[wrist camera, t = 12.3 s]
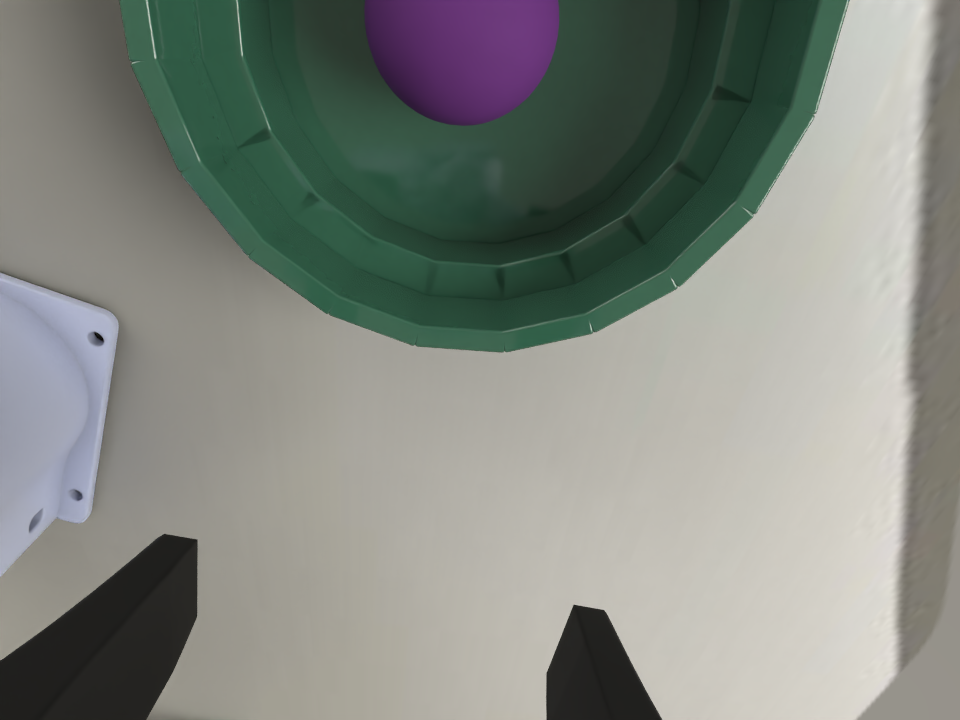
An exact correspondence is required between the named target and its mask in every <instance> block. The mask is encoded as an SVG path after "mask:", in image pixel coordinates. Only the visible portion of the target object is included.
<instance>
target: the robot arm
mask: <svg viewBox="0 0 960 720" xmlns="http://www.w3.org/2000/svg"><path fill="white" fill-rule="evenodd" d="M118 330H119V324H118V320H117V318H116V317H115V316H114V315H113V314H112V313H111V312H110V311H108V310H106V309H103V308H100V307H98V306H95V305H92V304H89V303H86V302H83V301H80V300H77V299H75V298H72V297H69V296H66V295H63V294H60V293H57V292H54V291H52V290H49V289H46V288H43V287H40V286H37V285H34V284H31V283H29V282H26V281H23V280H20V279H17V278H14V277H11V276H9V275H6V274H3V273H0V577H1V576H2V575H3V574H4V573H5V572H6V571H7V569H8V568H9V567H10V566H11V565H12V564H13V563H14V562H15V561H16V560H17V559H18V558H19V557H20V556H21V555H22V554H23V553H24V551H25V550H26V549H27V548H28V547H29V546H30V545H31V544H32V543H33V542H34V541H35V540H36V539H37V538H38V537H39V536H40V535H41V533H42V532H43V531H44V530H45V529H46V528H47V527H48V526H49V525H50V524H51V523H52V522H53V521H54V520H55V519H56V518H58V519H61V520H65V521H68V522H72V523H82V522H84V521H85V520H86V519H87V518H88V517H89V516H90V514H91V512H92V505H93V498H94V491H95V485H96V478H97V471H98V464H99V458H100V451H101V444H102V437H103V431H104V424H105V417H106V410H107V404H108V397H109V390H110V383H111V377H112V370H113V363H114V357H115V350H116V343H117V336H118ZM95 332H97V333H99V334H100V335H101V336H102V337H103V339H104V341H101V340H99V339H98V338H97V337H96V336H95ZM76 490H77V491H79V492H80V493H79V492H77V491H76ZM196 618H197V540H196V539H190V538H185V537H179V536H173V535H167V534H163V535H162V536H160V537H158V538H157V539H156V540H155V541H153V542H152V543H151V544H150V545H149V546H148V547H146V548H145V549H144V550H143V551H142V552H140V553H139V554H138V555H137V556H136V557H134V558H133V559H132V560H131V561H130V562H129V563H127V564H126V565H125V566H124V567H123V568H121V569H120V570H119V571H118V572H116V573H115V574H114V575H113V576H112V577H110V578H109V579H108V580H107V581H105V582H104V583H103V584H102V585H100V586H99V587H98V588H97V589H96V590H94V591H93V592H92V593H91V594H89V595H88V596H87V597H85V598H84V599H83V600H82V601H80V602H79V603H78V604H76V605H75V606H74V607H73V608H71V609H70V610H69V611H67V612H66V613H65V614H64V615H62V616H61V617H60V618H58V619H57V620H56V621H55V622H53V623H52V624H51V625H49V626H48V627H47V628H45V629H44V630H43V631H41V632H40V633H38V634H37V635H36V636H34V637H33V638H32V639H30V640H29V641H27V642H26V643H25V644H23V645H22V646H20V647H19V648H18V649H16V650H15V651H13V652H12V653H11V654H9V655H8V656H6V657H5V658H4V659H2V660H1V661H0V720H146V719H147V717H148V715H149V713H150V712H151V710H152V708H153V706H154V705H155V703H156V701H157V699H158V698H159V696H160V694H161V692H162V690H163V689H164V687H165V685H166V683H167V682H168V680H169V678H170V676H171V674H172V673H173V670H174V668H175V666H176V664H177V662H178V659H179V657H180V655H181V653H182V650H183V648H184V646H185V644H186V641H187V639H188V637H189V634H190V632H191V629H192V627H193V625H194V622H195V620H196ZM546 709H547V720H662V718H661V717H660V715H659V713H658V711H657V710H656V708H655V706H654V704H653V702H652V701H651V699H650V697H649V695H648V693H647V692H646V690H645V688H644V686H643V684H642V682H641V680H640V678H639V677H638V675H637V673H636V671H635V669H634V667H633V665H632V663H631V661H630V659H629V657H628V655H627V653H626V651H625V649H624V647H623V645H622V643H621V641H620V639H619V637H618V635H617V633H616V631H615V629H614V627H613V625H612V623H611V621H610V619H609V617H608V615H607V614H606V612H605V611H604V610H600V609H595V608H589V607H583V606H577V605H573V608H572V611H571V613H570V616H569V618H568V621H567V623H566V626H565V628H564V631H563V633H562V636H561V638H560V641H559V643H558V646H557V649H556V651H555V654H554V656H553V659H552V661H551V664H550V666H549V669H548V671H547V690H546Z"/></svg>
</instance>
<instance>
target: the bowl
mask: <svg viewBox="0 0 960 720" xmlns="http://www.w3.org/2000/svg"><path fill="white" fill-rule="evenodd" d="M849 1H850V0H558V3H559V29H558V37H557V42H556V47H555V51H554V54H553V56H552V59H551V62H550V64H549V67H548V69H547V71H546V73H545V75H544V76H543V78H542V80H541V81H540V83H539V84H538V86H537V87H536V88H535V90H534V91H533V92H532V93H531V94H530V96H529V97H528V98H527V99H526V100H524V101H523V102H522V103H521V104H520V105H519V106H518V107H516V108H515V109H513V110H512V111H511V112H509V113H507V114H505V115H503V116H502V117H500V118H498V119H495V120H492V121H490V122H487V123H482V124H478V125H468V126H460V125H449V124H445V123H440V122H437V121H434V120H431V119H429V118H426V117H424V116H423V115H421V114H419V113H417V112H415V111H414V110H413V109H411V108H410V107H409V106H407V105H406V104H405V103H404V102H403V101H401V100H400V99H399V98H398V97H397V96H396V95H395V94H394V92H393V91H392V90H391V89H390V88H389V86H388V85H387V84H386V82H385V81H384V79H383V77H382V76H381V74H380V72H379V70H378V68H377V66H376V64H375V62H374V59H373V56H372V54H371V51H370V48H369V44H368V40H367V35H366V28H365V14H364V6H365V0H119V3H120V9H121V15H122V21H123V27H124V33H125V39H126V45H127V51H128V57H129V60H130V61H131V62H132V63H131V67H132V69H133V71H134V73H135V76H136V78H137V80H138V82H139V85H140V87H141V89H142V91H143V93H144V96H145V98H146V100H147V102H148V104H149V107H150V109H151V111H152V113H153V115H154V118H155V120H156V122H157V124H158V127H159V129H160V131H161V133H162V135H163V138H164V140H165V142H166V144H167V146H168V149H169V151H170V153H171V155H172V157H173V160H174V162H175V164H176V166H177V169H178V170H179V171H181V175H182V176H183V178H184V179H185V180H186V181H187V183H188V184H189V185H190V186H191V187H192V189H193V190H194V191H195V192H196V194H197V195H198V196H199V197H200V199H201V200H202V201H203V202H204V203H205V205H206V206H207V207H208V208H209V210H210V211H211V212H212V213H213V215H214V216H215V217H216V218H217V219H218V221H219V222H220V223H221V224H222V226H223V227H224V228H225V229H226V231H227V232H228V233H229V234H230V235H231V237H232V238H233V239H234V240H235V242H236V243H237V244H238V245H239V247H240V248H241V249H242V250H243V251H244V253H245V254H246V255H249V258H250V259H251V260H252V261H254V262H255V263H257V264H258V265H259V266H261V267H262V268H264V269H265V270H266V271H268V272H269V273H270V274H272V275H273V276H275V277H276V278H277V279H279V280H280V281H282V282H283V283H284V284H286V285H287V286H289V287H290V288H291V289H293V290H294V291H295V292H297V293H298V294H300V295H301V296H302V297H304V298H305V299H307V300H308V301H309V302H311V303H312V304H313V305H315V306H316V307H318V308H319V309H320V310H322V311H323V312H325V313H326V314H328V313H329V315H330V316H333V317H336V318H339V319H341V320H344V321H347V322H350V323H352V324H355V325H358V326H360V327H363V328H366V329H369V330H371V331H374V332H377V333H380V334H382V335H385V336H388V337H390V338H393V339H396V340H399V341H401V342H404V343H407V344H410V345H412V346H414V345H416V346H417V347H431V348H445V349H459V350H474V351H488V352H504V351H505V352H510V351H515V350H520V349H524V348H529V347H533V346H538V345H543V344H547V343H552V342H557V341H561V340H566V339H571V338H575V337H580V336H584V335H589V334H592V333H593V332H597V331H599V330H601V329H603V328H605V327H607V326H609V325H610V324H612V323H614V322H616V321H618V320H620V319H622V318H624V317H625V316H627V315H629V314H631V313H633V312H635V311H637V310H638V309H640V308H642V307H644V306H646V305H648V304H650V303H652V302H653V301H655V300H657V299H659V298H661V297H663V296H665V295H666V294H668V293H670V292H672V291H674V290H676V289H677V288H678V286H679V287H680V286H681V285H682V284H683V283H684V282H686V281H687V280H688V279H689V278H690V277H691V276H692V275H693V274H694V273H695V272H696V271H697V270H698V269H699V268H700V267H701V266H702V265H703V264H704V263H705V262H706V261H708V260H709V259H710V258H711V257H712V256H713V255H714V254H715V253H716V252H717V251H718V250H719V249H720V248H721V247H722V246H723V245H724V244H725V243H726V242H727V241H729V240H730V239H731V238H732V237H733V236H734V235H735V234H736V233H737V232H738V231H739V230H740V229H741V228H742V227H743V226H744V225H745V224H746V223H747V222H748V221H749V220H751V219H752V218H753V216H754V215H753V214H756V213H757V211H758V210H759V208H760V206H761V205H762V203H763V201H764V200H765V198H766V196H767V195H768V193H769V192H770V190H771V188H772V187H773V185H774V183H775V182H776V180H777V178H778V177H779V175H780V173H781V172H782V170H783V168H784V167H785V165H786V164H787V162H788V160H789V159H790V157H791V155H792V154H793V152H794V150H795V149H796V147H797V145H798V144H799V142H800V141H801V139H802V137H803V136H804V134H805V132H806V131H807V129H808V127H809V126H810V124H811V122H812V121H813V119H814V117H815V116H814V114H816V112H817V110H818V106H819V103H820V99H821V96H822V93H823V89H824V86H825V82H826V79H827V76H828V72H829V69H830V65H831V62H832V58H833V55H834V52H835V48H836V45H837V41H838V38H839V35H840V31H841V28H842V24H843V21H844V18H845V14H846V11H847V7H848V4H849Z"/></svg>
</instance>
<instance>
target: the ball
mask: <svg viewBox="0 0 960 720" xmlns="http://www.w3.org/2000/svg"><path fill="white" fill-rule="evenodd" d="M364 14H365V28H366V35H367V40H368V44H369V48H370V51H371V54H372V56H373V59H374V62H375V64H376V66H377V68H378V70H379V72H380V74H381V76H382V77H383V79H384V81H385V82H386V84H387V85H388V86H389V88H390V89H391V90H392V91H393V92H394V94H395V95H396V96H397V97H398V98H399V99H400V100H401V101H403V102H404V103H405V104H406V105H407V106H409V107H410V108H411V109H413V110H414V111H415V112H417V113H419V114H421V115H423V116H424V117H426V118H429V119H431V120H434V121H437V122H440V123H445V124H449V125H460V126H468V125H478V124H482V123H487V122H490V121H492V120H495V119H498V118H500V117H502V116H503V115H505V114H507V113H509V112H511V111H512V110H513V109H515V108H516V107H518V106H519V105H520V104H521V103H522V102H523V101H524V100H526V99H527V98H528V97H529V96H530V94H531V93H532V92H533V91H534V90H535V88H536V87H537V86H538V84H539V83H540V81H541V80H542V78H543V76H544V75H545V73H546V71H547V69H548V67H549V64H550V62H551V59H552V56H553V54H554V51H555V47H556V42H557V37H558V29H559V3H558V0H365V6H364Z"/></svg>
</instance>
